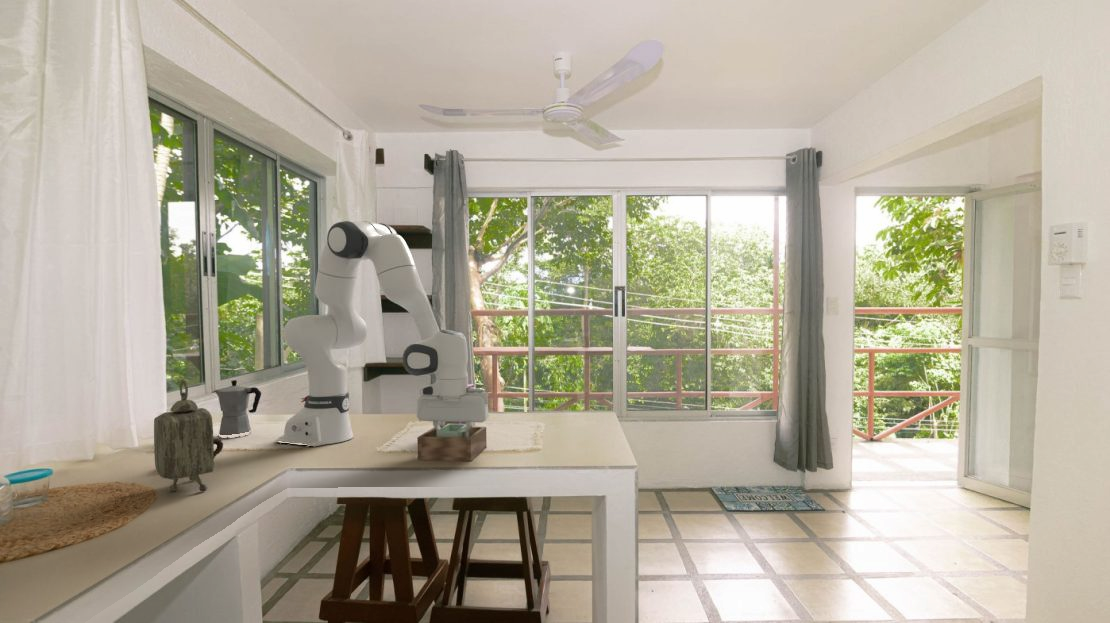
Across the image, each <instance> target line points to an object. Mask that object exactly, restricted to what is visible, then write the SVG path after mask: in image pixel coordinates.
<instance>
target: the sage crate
mask: <svg viewBox="0 0 1110 623" xmlns="http://www.w3.org/2000/svg"><path fill="white" fill-rule="evenodd" d="M467 427H468V426H466V424H447V425H445V426H444V427H442V428H441V429H439V430H437V437H453V438H463V437H462V432H463V431H464V430H466V429H467ZM468 438H469V437H468Z"/></svg>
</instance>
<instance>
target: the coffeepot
mask: <svg viewBox="0 0 1110 623" xmlns="http://www.w3.org/2000/svg"><path fill="white" fill-rule="evenodd" d="M230 381H231V386H227V387H223V388H220V389H219V388H218V389H216V390H213V392H214V393H215V394H216V395H217V397H218V403H219V408H220V411H221V412H222V416H221V420H220V427H219V432H218V435H219V434H220V435H232V434H240V433H245V432H249V431H250V430H251V431H252V429H251V425H250V420H249V415H248V414H247V409H248V408H249V401H250V395H251V394H255V396H254V400H253V403H252V408H251V409H248V412H249V413H250V414H253V413H256V412H257V409H258V407H259V403H260V399H261V396H262V392H261V390H260V389H259V388H258V387H247V386H242V385H241V386H240V385H237V383H238V381H237V380H236V379H232V380H230Z"/></svg>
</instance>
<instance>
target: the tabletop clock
mask: <svg viewBox="0 0 1110 623" xmlns="http://www.w3.org/2000/svg"><path fill="white" fill-rule="evenodd" d="M183 385H184V390H185V392H183ZM179 395H180V399H181V400H178V401H176V402H174V403H173V404H172V406H171V408H170V411H166V412H163V413H161V414H159V415H158V416H156V417H155V418H154V419H153V420H154V421H153V442H154V443H153V444H154V445H153V446H154V447H153V448H154V451H153V452H154V467H155V470H156V471H157V473H158V475H159V476H160V477H161V478H163V479H167V480H171V481H173V484H170V486H169V487H168V490H169V491H170V492H176V491H177V490H179V489H178V488H179V486H178V484H177V483H178V480H179V479H184V478H188V479H189V480H190V481H195V482H196V483H197V484H198V485H199V487H198V490H199V491H200V492H206V491H207V490H208V485H207V484H206V483H203V482H202V480H201V477H200V476H199V475H205V474H210V473H212V472H214V463H215V462H214V460H215V458H214V451H215V449H214V448H215V447H214V445H215V444H214V442H213V439H214V427H213V426H214V425H213V423H214V422H213V416H212V414H211V412H210V411H208V409H206V408H205V407H199V408H198V405H197V403H196V402H195V401H193V400H191V399H188V396H189V387H188V383H187V381H186V380H184V379H182V380H181V381H179Z"/></svg>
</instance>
